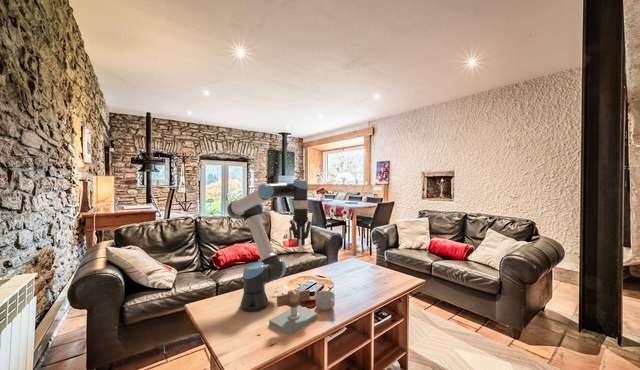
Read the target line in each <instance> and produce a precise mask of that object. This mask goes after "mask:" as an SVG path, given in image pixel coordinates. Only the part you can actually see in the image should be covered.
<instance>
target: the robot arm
mask: <svg viewBox="0 0 640 370" xmlns="http://www.w3.org/2000/svg"><path fill="white" fill-rule="evenodd" d="M308 188H309V187H308V181H307V180H306V179H294V180H293V183H291V182H290V183H289V182H288V183H287V182H283V183H261V184H260V185H259V187H258V188H257V189H256V190H254V191H253V192H250V193H249V194H247V195H246V196H245V195H244V197H242V198H240V199H234V200H233V201H231V202H230V203H228V205H227V208H226V211H227V215H228V216H229V217H230V218H232V219H233V220H234V219H235V220H244V223H245V224H247V225H248V227H249V230H250V233H251V236H252V238H253V241H254V243H255V246H256V250H257V252H258V255H259V261H255V262H250V263H248V264H246V265H245V266H244V267H243V270H242V271H243V272H242V276H243V278H242V279H243V293H242V297H241V301H240V309H241V310H242V311H243V312H246V313H247V312H248V313H255V312H259V311H262V310H264V309H266V308H267V307H268V305H269V299H268V297H267V294H266V291H265V286H266V284H268V283H271V282H274V281H277V280H279V279H281V278H283V277H284V276H285V273H286V270H287V268H286V267H287V265H286V262H285V260H284V259H283V258H281V257H279V256H278V254H277V253H275V251H274V249H273V247H272V245H271V241H270V239H269V237H268V234H267V230H266V229H265V226H264V223H263V221H262V218H263V213H264V207H263V204H262V203H264V202H266V201H268V200H270V199H273V198H286V197H287V198H288V197H293V208H294V209H293V218H292V219H291V220H289V222H288V223H289V224H290V225H291V230H292V235H293V238H294V239H297V241H296V242H297V243H296V244H297V246H298V253H299V252H300V253H302V252H304V246H305V243H306V239H308V238H309V233H310V229H311V226H312V223H313V221H312V220H310V219H309V216H308V215H309V214H308V213H309V211H308V206H309V205H308V203H309V202H308Z"/></svg>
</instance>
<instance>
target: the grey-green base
mask: <svg viewBox="0 0 640 370" xmlns="http://www.w3.org/2000/svg"><path fill="white" fill-rule="evenodd" d="M318 316H319V315H318V312H315V311H313V310H311V309H309V308H306V307H304V306H301V304H300V305H299V306H297V307H290V309H288V310H286V311H284V312H282V313H280V314H278V315H276V316H274V317H273V318H270V319H269V321H268V324H269V326H271V327H272V328H274V329H275V330H278V331H279V332H281V333H283V334H285V335H286V336H288V337H289V336H291V335H292V334H294V333H296V332H298V331H299V330H301V329H302V328H304V327H306V326H307V325H309V324H311V323H312V322H314V321H315V320H317V319H318V318H319V317H318Z"/></svg>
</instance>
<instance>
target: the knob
mask: <svg viewBox="0 0 640 370" xmlns="http://www.w3.org/2000/svg"><path fill="white" fill-rule="evenodd" d="M310 292H311V291H310V289H303V290H298V289H291V290H288V291H287V293H282V294H278V295H277V296H276V306H277V308H280V307H285V306H288V307H290V308H291V307H297V306H299V305H300V306H301V302H306V301H307V302H308V301H310V300H311V297H310V294H311V293H310Z"/></svg>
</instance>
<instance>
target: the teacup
mask: <svg viewBox="0 0 640 370" xmlns="http://www.w3.org/2000/svg"><path fill="white" fill-rule="evenodd" d="M314 295H315V303H314V304H315V307H317V309H318V310H321V311H323V312H324V311H326V312H327V311H330V310H332V309H333V308H334V306H335V296H336V295H335V293H334V292H332V291H330V290H319V291H317V292H315V294H314Z"/></svg>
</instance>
